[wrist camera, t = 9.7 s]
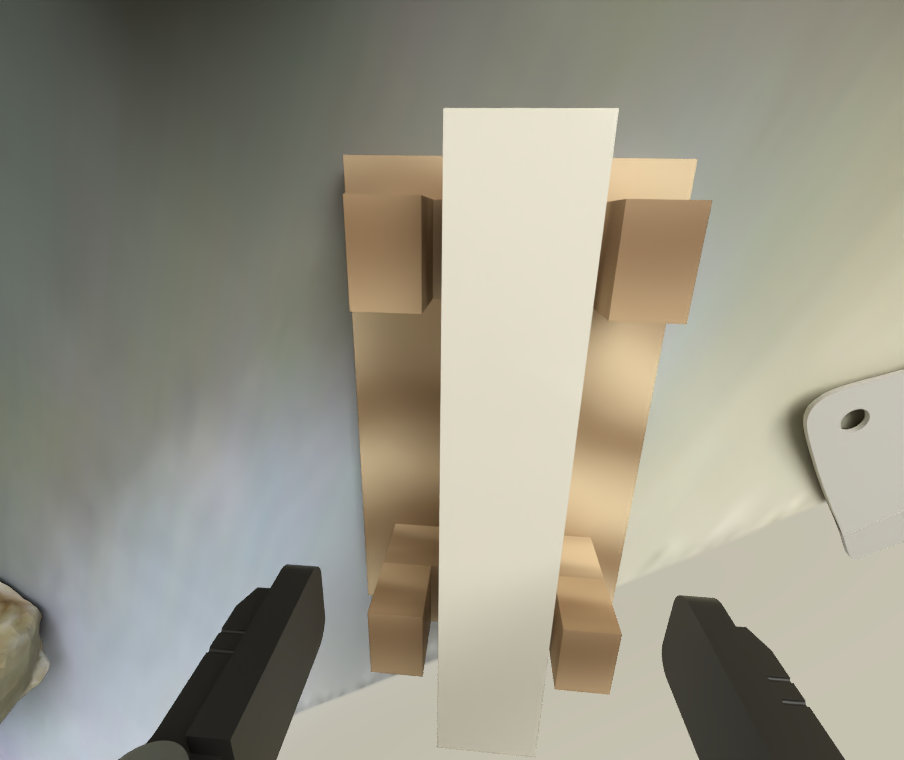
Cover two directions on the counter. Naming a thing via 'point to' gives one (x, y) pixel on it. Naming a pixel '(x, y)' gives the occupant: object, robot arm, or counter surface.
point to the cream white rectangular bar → (511, 400)
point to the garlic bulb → (19, 649)
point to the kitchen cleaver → (861, 461)
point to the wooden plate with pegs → (419, 395)
